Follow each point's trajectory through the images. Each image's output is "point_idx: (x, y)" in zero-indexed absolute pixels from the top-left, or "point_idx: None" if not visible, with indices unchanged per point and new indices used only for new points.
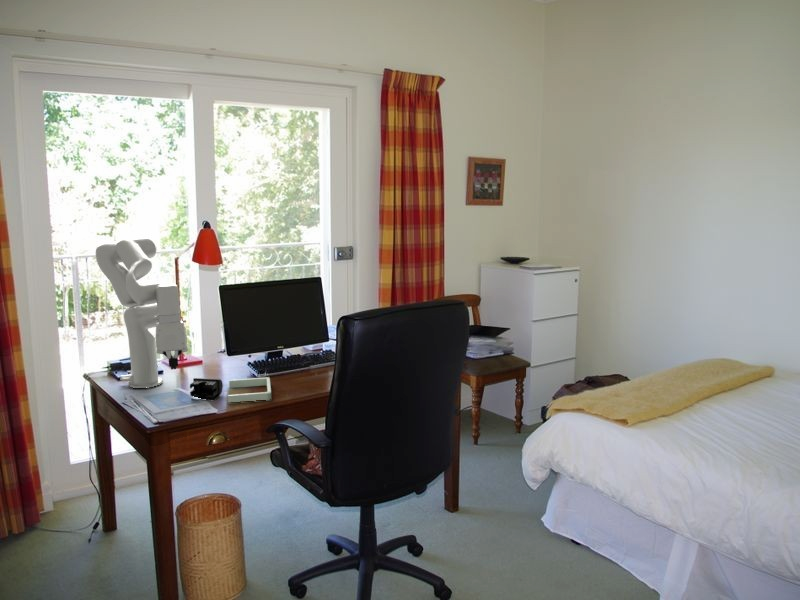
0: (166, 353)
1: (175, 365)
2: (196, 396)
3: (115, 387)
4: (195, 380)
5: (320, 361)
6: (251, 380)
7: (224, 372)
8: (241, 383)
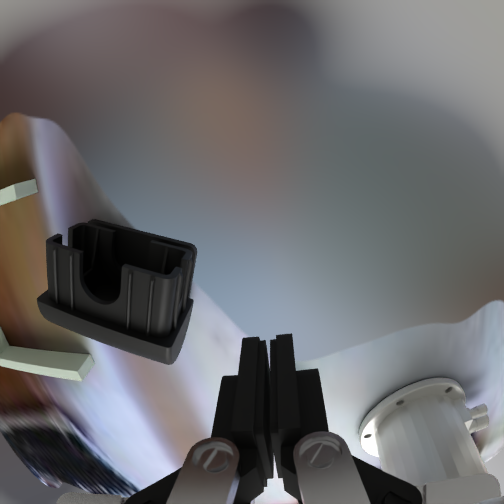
0: (365, 500)
1: (240, 363)
2: (162, 243)
3: (491, 386)
4: (159, 335)
5: (11, 441)
6: (25, 360)
7: (172, 469)
8: (52, 359)
